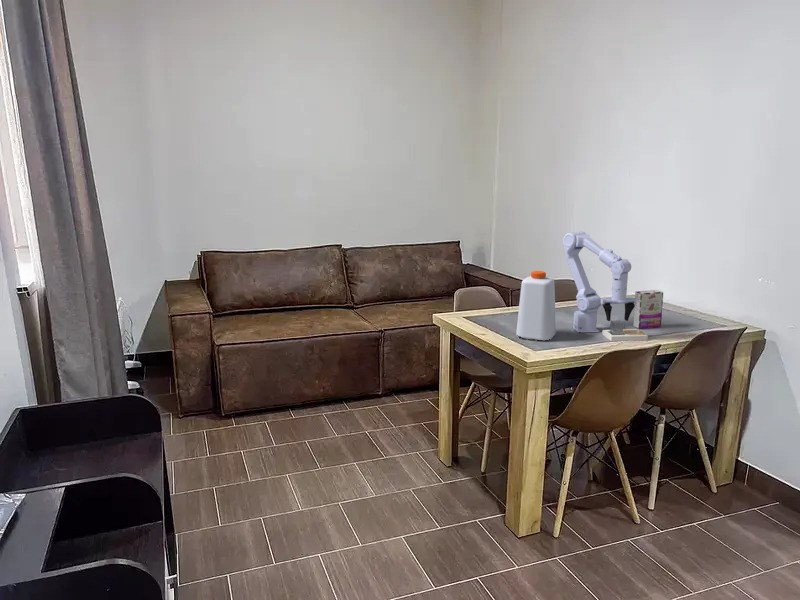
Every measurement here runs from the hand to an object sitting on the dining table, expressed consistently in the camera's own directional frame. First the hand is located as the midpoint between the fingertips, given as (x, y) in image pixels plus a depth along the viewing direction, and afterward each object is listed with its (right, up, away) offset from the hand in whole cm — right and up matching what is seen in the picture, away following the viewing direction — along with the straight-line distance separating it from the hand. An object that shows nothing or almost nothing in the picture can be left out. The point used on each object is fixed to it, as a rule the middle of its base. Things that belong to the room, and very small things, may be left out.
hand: (617, 320), depth 253 cm
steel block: (0, -7, +2) cm, 8 cm away
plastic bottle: (-33, -7, +5) cm, 34 cm away
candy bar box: (+19, -4, +17) cm, 26 cm away
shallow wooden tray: (+4, -7, +2) cm, 9 cm away
